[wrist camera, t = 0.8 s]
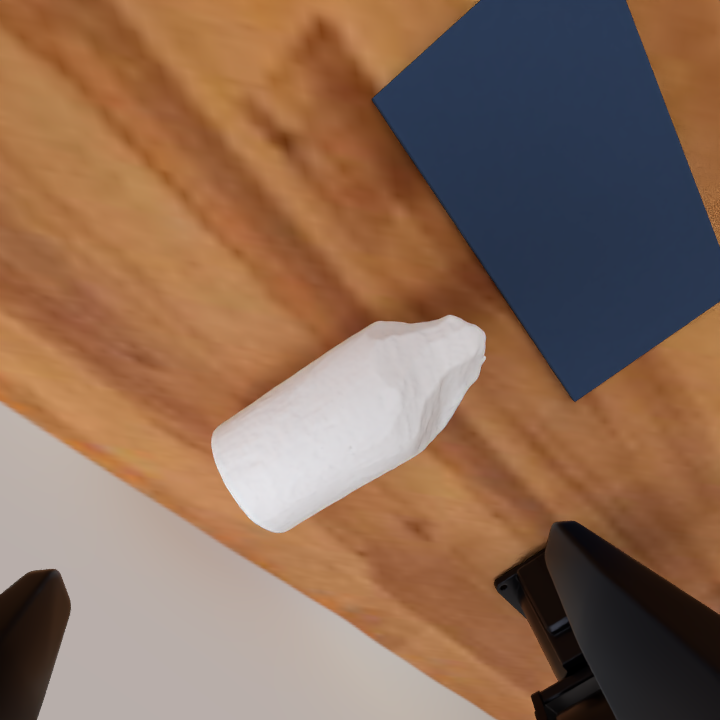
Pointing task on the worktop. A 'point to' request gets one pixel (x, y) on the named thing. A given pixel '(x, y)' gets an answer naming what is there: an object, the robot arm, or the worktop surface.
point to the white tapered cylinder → (346, 418)
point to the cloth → (562, 177)
